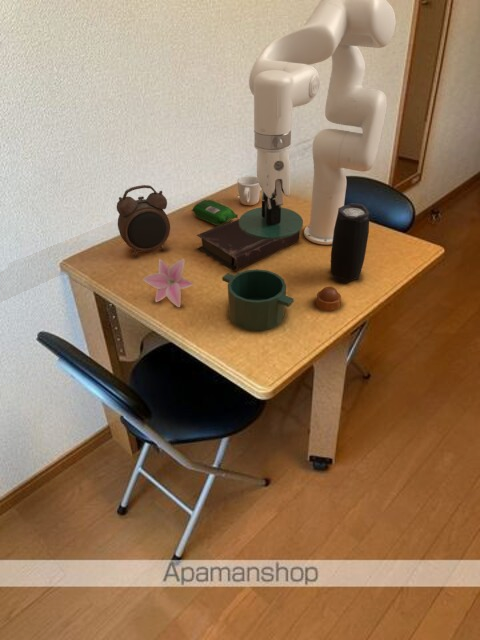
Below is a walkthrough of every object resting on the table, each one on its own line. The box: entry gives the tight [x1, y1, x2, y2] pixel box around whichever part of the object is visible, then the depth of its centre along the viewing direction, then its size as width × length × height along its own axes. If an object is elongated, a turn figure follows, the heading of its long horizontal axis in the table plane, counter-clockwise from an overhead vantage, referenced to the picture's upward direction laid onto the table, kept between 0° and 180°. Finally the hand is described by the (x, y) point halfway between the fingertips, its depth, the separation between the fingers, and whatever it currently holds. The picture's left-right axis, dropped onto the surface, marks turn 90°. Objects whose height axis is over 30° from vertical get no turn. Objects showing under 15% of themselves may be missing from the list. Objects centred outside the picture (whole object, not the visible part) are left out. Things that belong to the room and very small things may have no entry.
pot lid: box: [238, 200, 304, 239], centre depth 112 cm, size 15×15×6 cm
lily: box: [142, 258, 194, 308], centre depth 127 cm, size 12×12×10 cm
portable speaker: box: [329, 202, 371, 284], centre depth 129 cm, size 9×9×20 cm
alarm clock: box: [116, 184, 171, 258], centre depth 141 cm, size 15×7×20 cm, turn 114°
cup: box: [237, 175, 261, 206], centre depth 168 cm, size 11×8×8 cm
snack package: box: [191, 198, 239, 227], centre depth 160 cm, size 7×16×5 cm, turn 46°
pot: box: [221, 268, 295, 332], centre depth 120 cm, size 14×19×8 cm
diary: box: [196, 218, 301, 272], centre depth 147 cm, size 19×25×5 cm
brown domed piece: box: [315, 286, 342, 312], centre depth 124 cm, size 6×6×5 cm
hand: (270, 219), depth 113 cm, fingers closed on pot lid, 2 cm apart
